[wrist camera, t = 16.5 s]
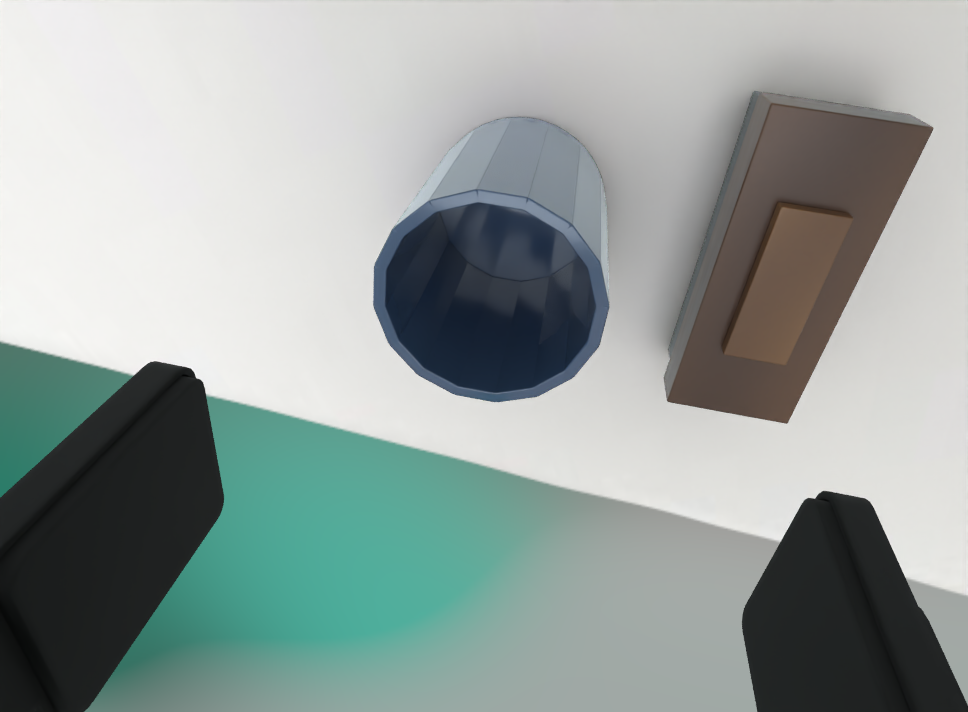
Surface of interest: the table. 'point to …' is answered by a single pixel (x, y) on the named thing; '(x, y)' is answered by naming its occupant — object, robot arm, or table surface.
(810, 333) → the brown box
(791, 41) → the table surface
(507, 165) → the cup
